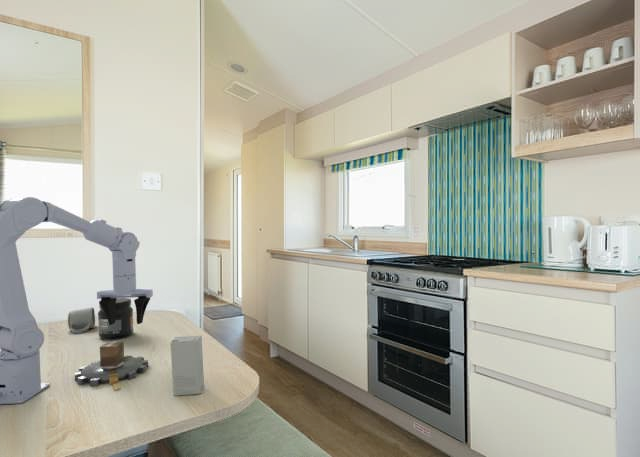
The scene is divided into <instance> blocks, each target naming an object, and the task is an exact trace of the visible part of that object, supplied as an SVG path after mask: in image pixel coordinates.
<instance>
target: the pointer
mask: <svg viewBox="0 0 640 457" xmlns="http://www.w3.org/2000/svg"><path fill="white" fill-rule="evenodd" d="M112 385H113V390H114V392H115V391H119V390H121V386H120V382H118V383H116V384H112Z"/></svg>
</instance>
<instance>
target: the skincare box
mask: <svg viewBox="0 0 640 457" xmlns="http://www.w3.org/2000/svg"><path fill="white" fill-rule="evenodd" d="M202 338H203V337H202V335H191V336H189V335H187V336H175V337H174V338H173V339H172V341H170V358H171V374H172V391H173V396H176V397H177V396H187V395H188V396H190V395H201V394H202V392H203V390H204V388H205V377H204V376H205V375H204V358H203V339H202Z"/></svg>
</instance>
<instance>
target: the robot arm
mask: <svg viewBox="0 0 640 457" xmlns="http://www.w3.org/2000/svg"><path fill="white" fill-rule="evenodd" d="M41 223H54V224H56V225H58V226H62V227H65V228H67V229H71V230H72V231H76V232H78V233H82V234H83V237H84V239H85V240H86V241H88V242H91V243H94V244H97V245H99V246H102V247H105V248H107V249H108V250H109V251H110V252H112V253H111V255H112V256H111V258H112V262H111V263H112V284H113V285H112V286H113V288H112V289H110V290H99V291H96V299H97V300H98V303H99V304H100V305H101V307H102V308H103V310H104V312H105V314H106V316H107V319H108V322H109V325H112V324H114V323H115V305H116V299H117V298H129V299H131V298H133V299H134V298H135V299H134V306H135V311H136V312H135V313H136V324H137V325H140V324H142V323H143V322H144V321H143V320H144V316H145V312H146V308H147V307H148V305H149V302H150V300H151V298H152V297H154V294H153V293H154V292H153V289H145V288H144V289H141V288H137V276H136V275H137V271H136V269H137V267H136V257H137V251H138V249H139V248H140V243H141V241H139V240H138V237H137V236H136V235H135V234H134V233H133V232H129V231H126V232H124V231H123V228H122V227H120V226H119V227H118V226H117V227H115V226H112V225H111V224H108V223H107V220H104V219H93V220H91V221H88V220H87V219H84V218H83V217H80V216H79V215H76V214H74V213H73V212H70V211H67V210H66V209H63V208H62V207H59V206H57V205H55V204H53V203H51V202H48V201H44V200H41V199H39V198H36V197H32V196H29V197H27V196H26V197H24V198H10V199H7V200H4V201H3V202H1V203H0V349H1V350H0V405H5V404H6V405H7V404H8V405H9V404H23V403H24V402H27V401H28V400H30V399H31V398H32V397H34V396H35V395H37V394H38V393H39V392H40V393H41V392H42V391H43V390H45V389H46V388H48V387H49V386H50V385H51V383H50V382H45V383H44V382H41V381H42V379H41V377H42V376H41V356H40V354H41V353H40V352H41V351H40V349H41V348H42V347H43V345H44V342H45V334H44V332H43V330H42V329H40V328H39V327H38V325H37V324H38V323H37V320H36V318H35V316H34V315H33V314H32V312H31V311H30V308H29V304H28V297H27V293H26V289H25V288H26V287H25V283H24V278H23V274H22V269H21V264H20V259H19V254H18V249H17V245H16V242H17V241H18V240H19V239H20V238H21V237H23V235H24V234H25V233H26V232H27V231H29V230H31V229H32V228H34V227H37V226H38V225H40V224H41Z"/></svg>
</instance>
